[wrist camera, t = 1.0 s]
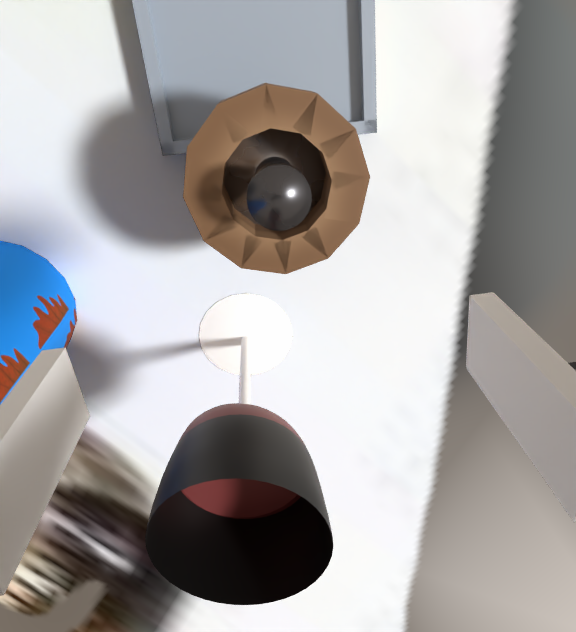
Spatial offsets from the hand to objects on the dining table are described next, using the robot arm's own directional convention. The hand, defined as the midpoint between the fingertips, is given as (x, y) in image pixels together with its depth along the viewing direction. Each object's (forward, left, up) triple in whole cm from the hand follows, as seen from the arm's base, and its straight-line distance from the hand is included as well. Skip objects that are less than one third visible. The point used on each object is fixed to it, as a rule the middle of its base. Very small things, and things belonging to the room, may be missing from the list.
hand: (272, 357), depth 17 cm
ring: (-1, +3, -16) cm, 16 cm away
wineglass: (+6, -9, -22) cm, 25 cm away
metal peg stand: (-1, +3, -22) cm, 22 cm away
